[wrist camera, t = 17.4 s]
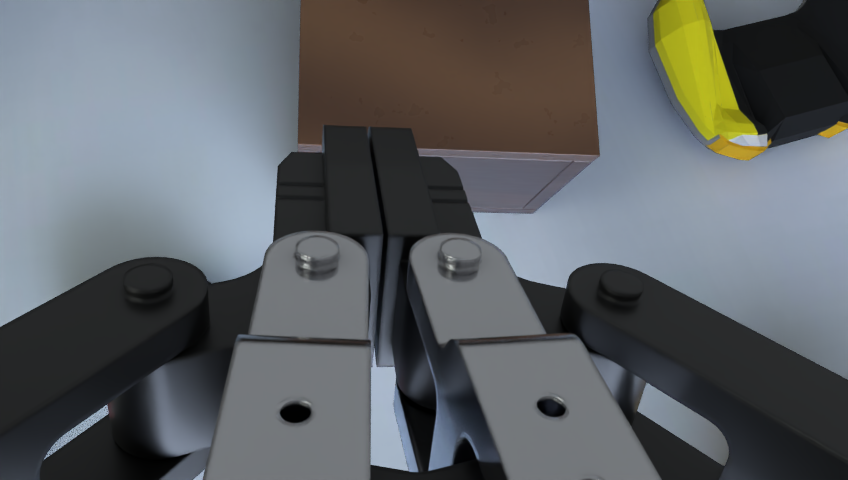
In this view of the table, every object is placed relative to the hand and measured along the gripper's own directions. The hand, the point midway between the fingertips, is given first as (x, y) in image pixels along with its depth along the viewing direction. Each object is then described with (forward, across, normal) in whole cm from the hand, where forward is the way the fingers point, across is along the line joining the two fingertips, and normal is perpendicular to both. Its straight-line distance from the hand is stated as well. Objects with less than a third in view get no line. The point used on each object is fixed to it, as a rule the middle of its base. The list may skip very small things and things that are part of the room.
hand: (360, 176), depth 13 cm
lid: (+23, -5, +2) cm, 24 cm away
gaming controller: (+30, -26, +8) cm, 41 cm away
